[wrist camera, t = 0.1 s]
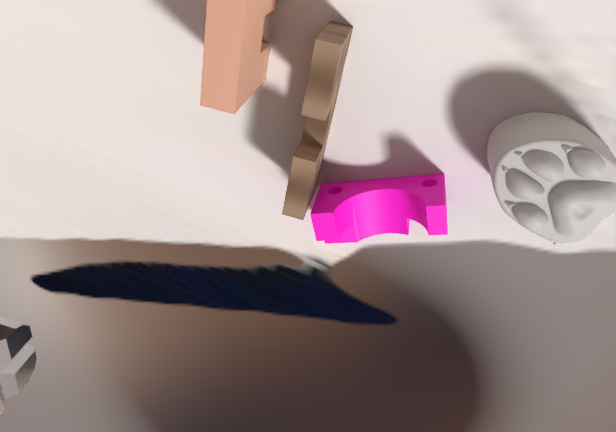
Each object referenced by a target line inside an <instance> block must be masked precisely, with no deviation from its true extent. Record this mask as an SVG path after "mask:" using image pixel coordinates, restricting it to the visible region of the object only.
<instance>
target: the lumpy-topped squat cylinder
mask: <svg viewBox="0 0 616 432" xmlns="http://www.w3.org/2000/svg"><path fill="white" fill-rule="evenodd" d="M487 160H488V164H489V169H490V174H491V179H492V183H493V188H494V191H495V194H496V197H497V199H498V201H499V203H500V205H501V207H502V209H503V210H504V212H505V213H506V214H507V215H508V216H510V217H511V218H512V219H513V220H515V221H516V222H517V223H519V224H520V225H521V226H523V227H525V228H526V229H528V230H530V231H531V232H533V233H536V234H537V235H539V236H541V237H543V238H545V239H547V240H550V241H553V242H556V243H571V242H576V241H579V240H582V239H583V238H585V237H586V236H588V235H589V234H590V233H591V232H592V231H593V230H594V228H595V227H596V226H597V225H598V224H599V223H600V222H601V221H602V220H603V219H605V218H606V217H608V216H609V215H611V214H612V213H614V212H616V158H615V156H614V155H613V154H612V152H611V151H610V149H609V148H608V146H607V145H606V144H605V143H604V142H603V141H602V140H601V139H600V138H599V137H598V136H596V135H595V134H594V133H593V132H592V131H590V130H589V129H588V128H586V127H585V126H583V125H582V124H580V123H578V122H577V121H575V120H573V119H571V118H569V117H567V116H565V115H562V114H558V113H548V112H529V113H523V114H519V115H515V116H512V117H510V118H507V119H505V120H503V121H502V122H500V123H499V124H498V125H497V126H496V127H495V128H494V129H493V130H492V132H491V134H490V136H489V138H488V142H487Z"/></svg>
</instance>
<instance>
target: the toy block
mask: <svg viewBox="0 0 616 432" xmlns="http://www.w3.org/2000/svg"><path fill="white" fill-rule="evenodd" d="M311 219H312V223H313V227H314V231H315V236H316V240H317V241H322V240H324V241H325V243H345V242H358V241H360V240H362V239H364V238H367V237H369V236H373V235H377V234H384V233H400V234H406V235H409V221H410V220H409V219H412V220H415V221H417V222H419V223H420V224H422V225H423V226H424V227H425V228H426V230H427V232H428V234H429V235H443V234H448V232H447V207H446V191H445V177H444V174H433V175H421V176H409V177H398V178H386V179H374V180H362V181H350V182H338V183H326V184H322V185H321V188H320V191H319V193H318V196H317V198H316V201H315V204H314V206H313V209H312V211H311Z"/></svg>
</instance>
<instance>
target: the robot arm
mask: <svg viewBox="0 0 616 432" xmlns="http://www.w3.org/2000/svg"><path fill="white" fill-rule="evenodd" d="M31 337H32V333H31V329H30V326H28V325H25V324H22V323H18V322H15V321H12V320H9V319H6V318H3V317H0V415H1V414H2V413H3V412H4V404H5V399H7V398H9V397H11V396H13V395H15V394H18V393H19V392H20V391H21V390H22V389H23V387H24V386H25V385H26V383H27V382H28V381H29V379H30V377H31V374H32V373H33V371H34V369H35V364H36V353H35V350H34V349H33V347H32V346H31V345H30V344H29V343H28V341H29V340H30V339H31Z"/></svg>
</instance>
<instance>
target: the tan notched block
mask: <svg viewBox="0 0 616 432" xmlns="http://www.w3.org/2000/svg"><path fill="white" fill-rule="evenodd" d="M276 1H277V0H207V7H206V22H205V38H204V53H203V69H202V84H201V99H200V105H202V106H205V107H209V108H213V109H217V110H221V111H224V112H228V113H232V114H235V113H236V112H237V111H238V109H239V108H240V107H241V106H242V105H243V104H244V103H245V102H246V101H247V100H248V98H249V97H250V96H251V95H252V94H253V93H254V92H255V91H256V90H257V88H258V87H259V86H260V85H261V84H262V83H263V82H264V81H265V80H266V73H267V66H268V58H269V51H270V44H268V43H264V42H262V36H263V28H264V20H265V16H266V15H267V14H268V13H270V12H271V11H273V10H274V9H275V8H276Z"/></svg>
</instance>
